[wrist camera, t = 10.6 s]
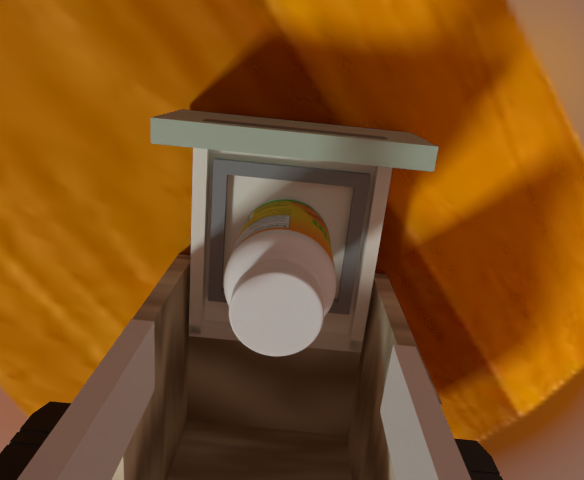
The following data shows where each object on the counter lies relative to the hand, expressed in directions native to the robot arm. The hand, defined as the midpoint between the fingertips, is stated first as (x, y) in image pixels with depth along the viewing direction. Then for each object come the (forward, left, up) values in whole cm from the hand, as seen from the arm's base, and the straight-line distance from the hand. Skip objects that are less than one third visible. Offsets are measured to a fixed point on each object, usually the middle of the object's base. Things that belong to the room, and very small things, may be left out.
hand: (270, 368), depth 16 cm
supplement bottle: (0, 0, -14) cm, 14 cm away
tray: (0, 0, -15) cm, 15 cm away
